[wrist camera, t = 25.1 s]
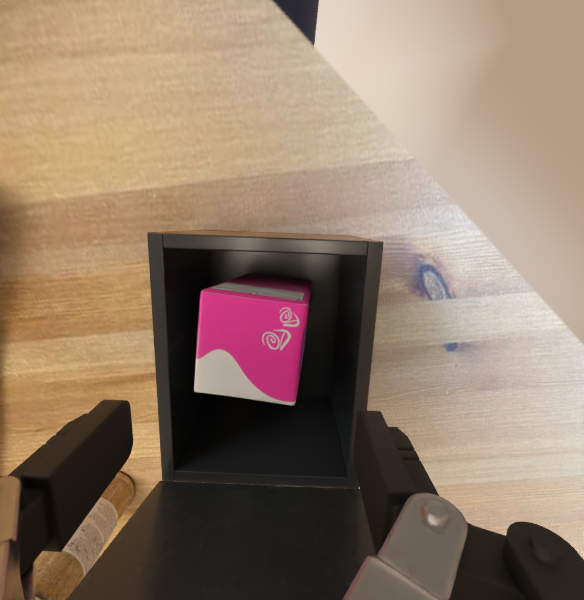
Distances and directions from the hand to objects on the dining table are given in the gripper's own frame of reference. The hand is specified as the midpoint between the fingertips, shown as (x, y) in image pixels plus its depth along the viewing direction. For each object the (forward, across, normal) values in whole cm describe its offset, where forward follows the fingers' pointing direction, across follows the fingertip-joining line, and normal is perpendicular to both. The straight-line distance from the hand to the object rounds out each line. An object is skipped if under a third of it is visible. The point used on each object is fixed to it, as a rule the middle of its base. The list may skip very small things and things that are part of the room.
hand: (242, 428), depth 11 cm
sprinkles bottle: (+18, +16, +20) cm, 32 cm away
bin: (+18, 0, +2) cm, 18 cm away
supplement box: (+17, 0, 0) cm, 17 cm away
